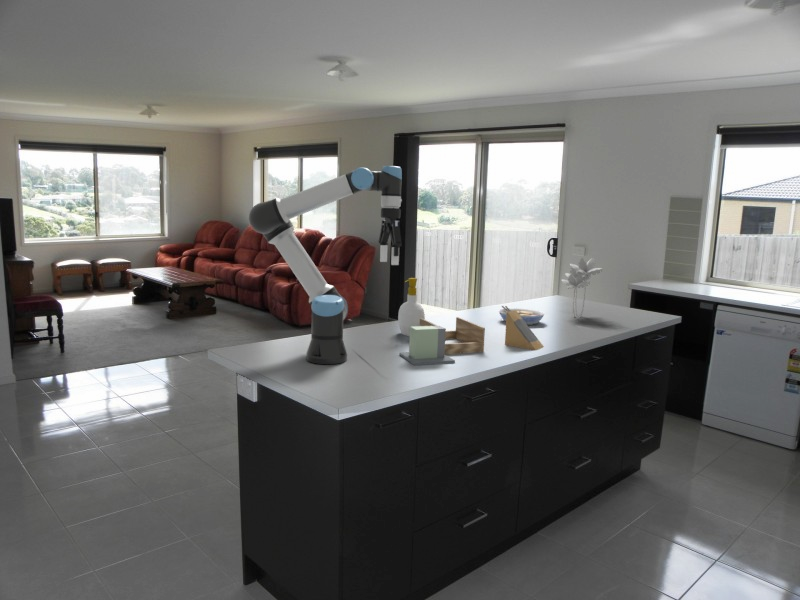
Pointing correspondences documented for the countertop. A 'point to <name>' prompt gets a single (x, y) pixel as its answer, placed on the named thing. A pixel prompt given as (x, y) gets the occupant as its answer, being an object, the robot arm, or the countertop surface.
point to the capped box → (427, 342)
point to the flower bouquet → (580, 277)
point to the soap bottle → (410, 310)
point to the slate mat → (426, 359)
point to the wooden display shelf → (463, 337)
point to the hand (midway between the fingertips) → (389, 263)
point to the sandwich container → (520, 333)
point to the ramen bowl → (524, 314)
